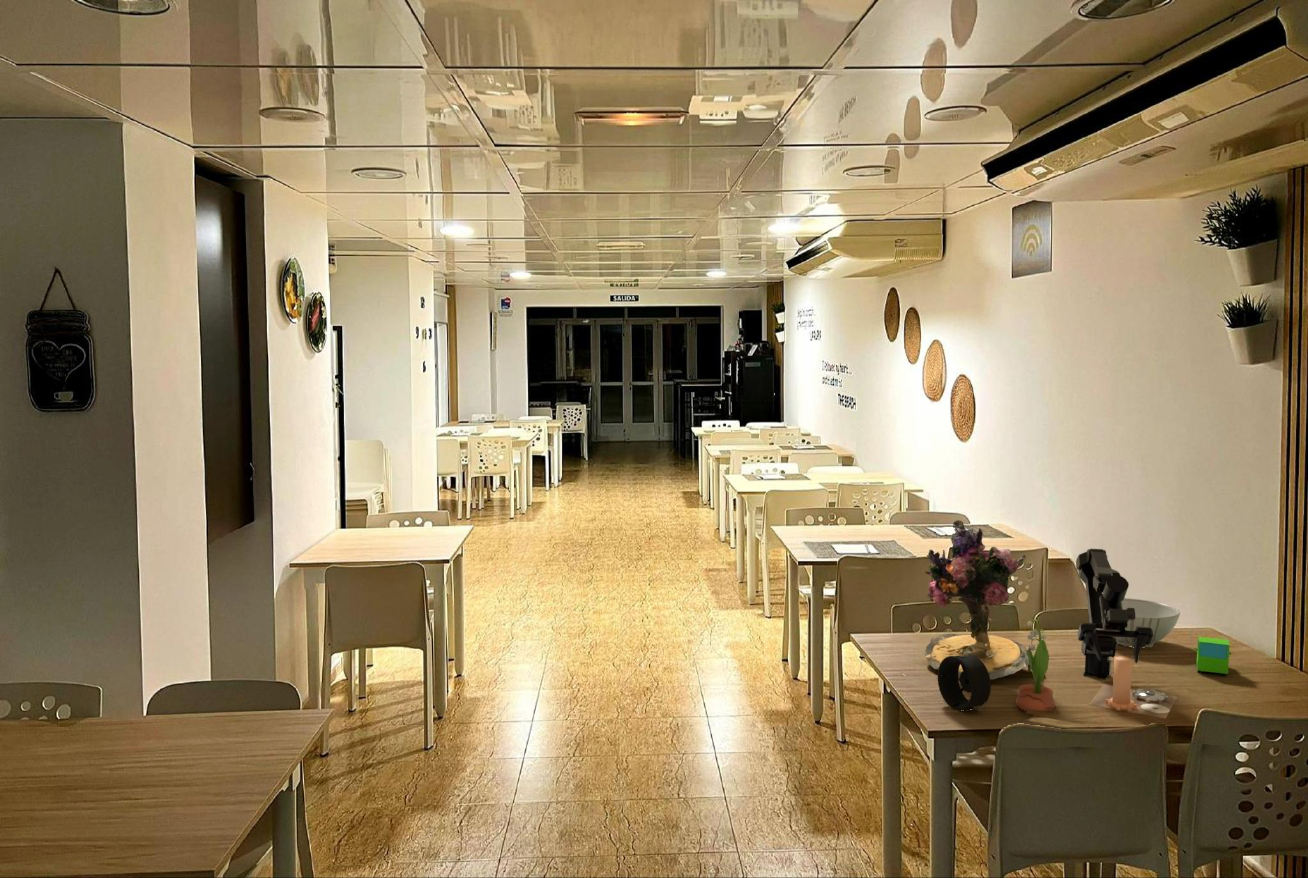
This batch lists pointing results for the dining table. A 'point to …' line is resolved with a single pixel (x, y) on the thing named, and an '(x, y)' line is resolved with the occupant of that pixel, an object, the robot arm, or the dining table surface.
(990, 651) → the bouquet
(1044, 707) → the potted flower
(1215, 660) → the blue-striped green cube
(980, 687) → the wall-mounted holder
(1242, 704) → the dining table surface
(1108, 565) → the robot arm
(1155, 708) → the gear board
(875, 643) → the dining table surface
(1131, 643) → the decorative bowl
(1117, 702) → the gear spool
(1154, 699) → the gear
